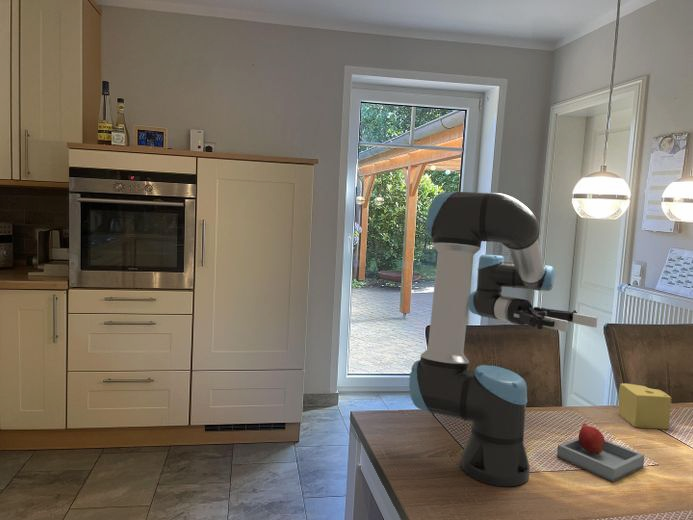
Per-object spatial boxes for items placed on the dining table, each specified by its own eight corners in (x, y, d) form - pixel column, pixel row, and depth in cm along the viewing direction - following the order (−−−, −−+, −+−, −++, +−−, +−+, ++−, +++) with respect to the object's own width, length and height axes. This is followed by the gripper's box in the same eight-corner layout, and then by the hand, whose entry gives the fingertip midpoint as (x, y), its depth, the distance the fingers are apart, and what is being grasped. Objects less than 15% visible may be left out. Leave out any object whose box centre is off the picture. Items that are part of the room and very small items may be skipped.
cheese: (651, 416, 156) (654, 384, 155) (670, 431, 146) (674, 397, 145) (616, 414, 157) (619, 382, 156) (633, 428, 146) (636, 394, 145)
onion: (588, 452, 123) (572, 422, 129) (587, 461, 127) (571, 432, 133) (612, 445, 122) (594, 415, 128) (609, 454, 126) (592, 425, 132)
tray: (613, 482, 115) (614, 469, 114) (557, 456, 126) (557, 445, 126) (643, 467, 122) (644, 455, 122) (587, 444, 134) (588, 433, 134)
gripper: (538, 319, 157) (606, 334, 140) (485, 326, 143) (552, 343, 126) (540, 295, 157) (608, 307, 139) (486, 300, 142) (555, 313, 125)
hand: (582, 324), depth 132 cm, fingers open, 13 cm apart
